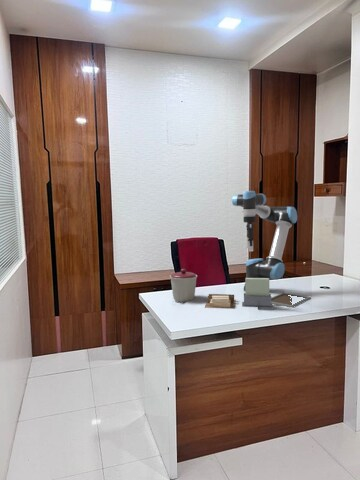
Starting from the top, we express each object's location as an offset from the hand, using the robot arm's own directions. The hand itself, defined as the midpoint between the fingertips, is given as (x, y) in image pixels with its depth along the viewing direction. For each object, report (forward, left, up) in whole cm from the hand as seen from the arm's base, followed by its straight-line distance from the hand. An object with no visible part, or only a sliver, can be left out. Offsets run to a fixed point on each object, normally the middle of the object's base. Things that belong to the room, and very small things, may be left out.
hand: (250, 249), depth 223 cm
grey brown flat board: (-17, +16, -34) cm, 42 cm away
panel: (+7, +10, -32) cm, 34 cm away
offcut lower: (+23, -6, -32) cm, 40 cm away
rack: (+20, -8, -34) cm, 40 cm away
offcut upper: (+23, -6, -30) cm, 38 cm away
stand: (+7, +10, -34) cm, 36 cm away
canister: (+26, -34, -34) cm, 54 cm away
